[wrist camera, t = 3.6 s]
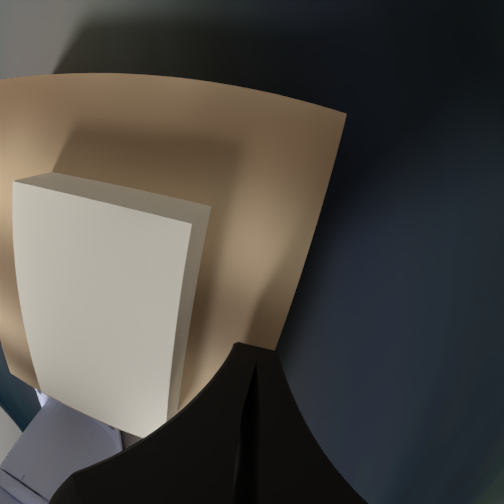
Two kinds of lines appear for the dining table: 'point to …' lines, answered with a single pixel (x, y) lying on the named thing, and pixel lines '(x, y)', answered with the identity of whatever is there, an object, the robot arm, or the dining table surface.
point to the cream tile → (107, 294)
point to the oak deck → (180, 189)
